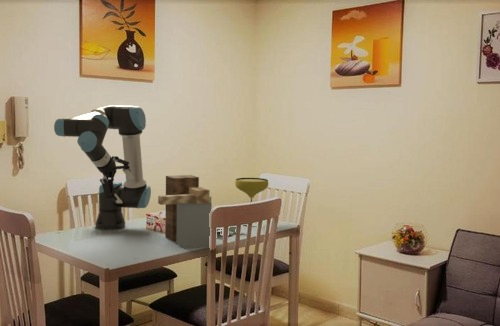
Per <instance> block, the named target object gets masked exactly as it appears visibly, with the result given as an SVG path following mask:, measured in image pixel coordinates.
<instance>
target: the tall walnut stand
mask: <svg viewBox="0 0 500 326" xmlns="http://www.w3.org/2000/svg"><path fill="white" fill-rule="evenodd" d="M199 186H200V177H199V176H195V175H192V174H183V175H182V174H181V175H165V195H182V194H189V188H193V187H199ZM164 218H165V222H164V223H165V228H164V230H165V234H164V235H165V236H164V237H165V238H166V239H168V240H170V241H171V242H176V236H177V204H166V205H165V217H164Z"/></svg>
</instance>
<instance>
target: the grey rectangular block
mask: <svg viewBox="0 0 500 326" xmlns="http://www.w3.org/2000/svg"><path fill="white" fill-rule="evenodd" d="M212 204H213V203H212V201H211V202H209V203H202V204H196V203H181V204H177V236H176V241H175V242H176V245H178V246H180V247H181V248H183V249H193V248H201V247H210V246H209V236H210V227H209V213H210V211H211V208H213V207H212Z"/></svg>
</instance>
